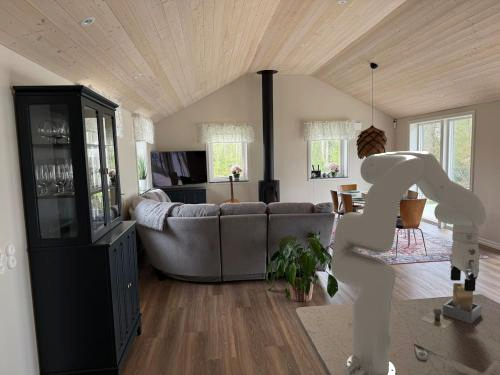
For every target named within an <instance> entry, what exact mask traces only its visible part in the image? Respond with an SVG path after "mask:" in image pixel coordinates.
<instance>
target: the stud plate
mask: <svg viewBox="0 0 500 375" xmlns="http://www.w3.org/2000/svg"><path fill="white" fill-rule="evenodd" d="M442 314H443V311H442V310H441V308H439V307H435V308H434V309H433V312H431V311H429V313H427V314H425V315H424V316H423V317H422V318H421V317H420V319H419V320H420V321H423V322H426V323H429V324H432V325H434V326H437V327H440V328H443V329H446V328H447V327H449V326H450V325H451V324H452V323H453V322H455V320H456V319H453V318H449V317H446V316H444V315H443V316H442Z"/></svg>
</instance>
